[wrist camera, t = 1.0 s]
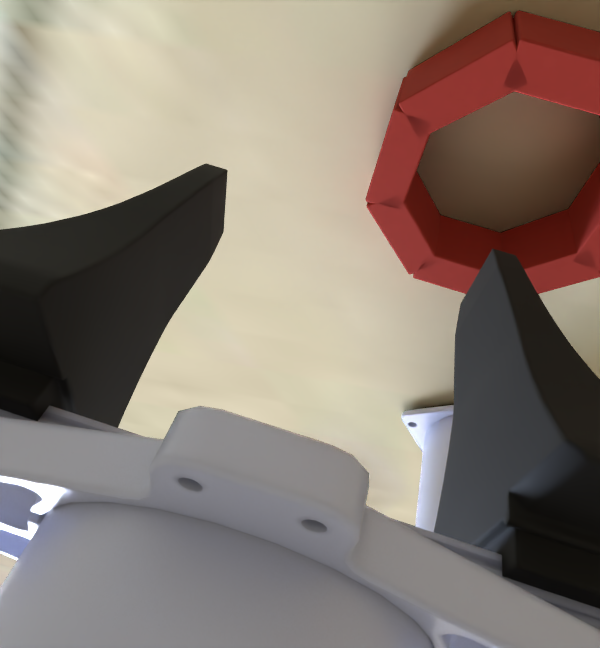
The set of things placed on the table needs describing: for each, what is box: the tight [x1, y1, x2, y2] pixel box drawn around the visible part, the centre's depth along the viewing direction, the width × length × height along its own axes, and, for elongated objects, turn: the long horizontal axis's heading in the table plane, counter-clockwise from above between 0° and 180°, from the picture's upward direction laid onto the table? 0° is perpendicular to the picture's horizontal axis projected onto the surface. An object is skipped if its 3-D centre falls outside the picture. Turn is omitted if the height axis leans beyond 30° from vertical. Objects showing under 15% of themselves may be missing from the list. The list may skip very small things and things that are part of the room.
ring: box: [366, 11, 600, 294], centre depth 18 cm, size 9×9×3 cm
